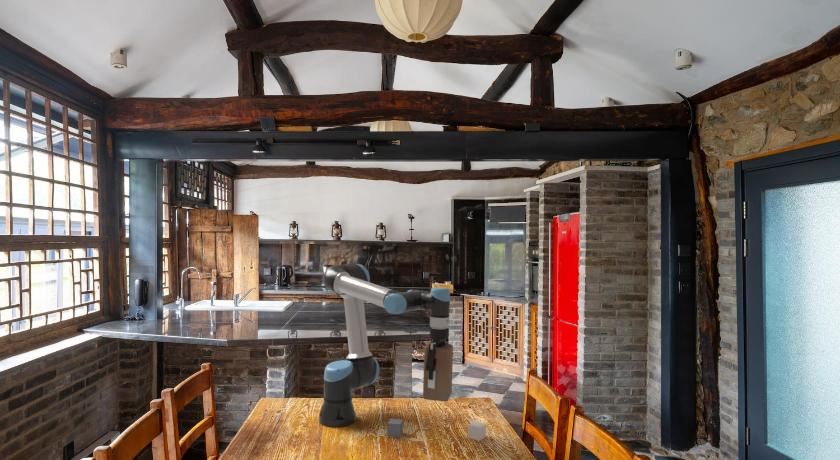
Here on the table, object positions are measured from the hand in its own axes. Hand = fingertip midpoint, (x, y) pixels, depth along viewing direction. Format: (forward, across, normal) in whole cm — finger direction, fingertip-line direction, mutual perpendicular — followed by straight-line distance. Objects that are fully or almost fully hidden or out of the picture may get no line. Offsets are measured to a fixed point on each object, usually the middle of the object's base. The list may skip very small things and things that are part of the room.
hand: (437, 383), depth 188 cm
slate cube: (+20, -7, +14) cm, 26 cm away
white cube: (+20, +6, -15) cm, 25 cm away
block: (+5, 0, 0) cm, 5 cm away
